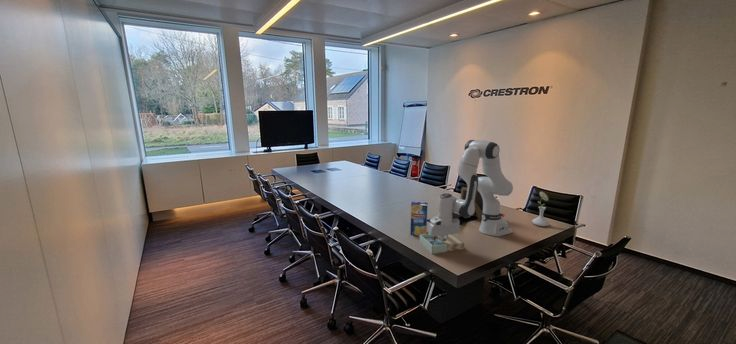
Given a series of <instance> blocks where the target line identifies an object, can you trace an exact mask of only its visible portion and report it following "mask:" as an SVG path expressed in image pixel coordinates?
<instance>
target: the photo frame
mask: <svg viewBox="0 0 736 344" xmlns="http://www.w3.org/2000/svg"><path fill="white" fill-rule="evenodd" d="M467 188H468V186H461V191H460V197H459V198H460V199H463V200H466V195H467ZM482 211H483V199H482V196H481V194H480V193H479V191H478V190H477V195H476V201H475V213H474V214H473V215H472V216H476V217H475V218H477V221H480V222H481V221H482Z"/></svg>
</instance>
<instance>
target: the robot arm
mask: <svg viewBox="0 0 736 344" xmlns="http://www.w3.org/2000/svg"><path fill="white" fill-rule="evenodd" d="M463 149H464V151H463V153H462V155H461V158H460V159H459V163H458V166H457V173H458V176H459V177H460V178H461V179H462V180H463V181H464V182H465V183H466V187H468V188H467V195H466V200H463V199H460V198H461V197H456V196H454V195H452V194H451V193H446V192H445V193H442V194H440V195H439V197H438V202H437V209H438V212H437V215H435V216H434V217H432V218H430V219H429V225H428V228H427V229H428V230H427V231H428V233H427V234H429V235H430V236H439V235H440V237H441V241H447V237H448V235H449V234H453V235H454V234H455V235H456V234H459V233H460V232H461V230H460V229H461V228H460V226H461V225H460V222H461V221H460V219H458V218H453V214H456V215H458V216H459V215H460V216H459V217H463V218H464V219H469V218H470V217H471V216H472V215H473V214H474V213H475V201H476V195H477V190H478V191H479V193H480V194H481V196H482V199H483V211H482V221H480V226H479V228H478V230H479V231H478V232H480V233H482V234H484V235H488V236H494V237H502V236H506V235H509V234H512V233H513V230H512V229H510V226H509V223H508V222H507V221H506V220H505V219H503V218H504V217H505V214H504V213H501V211H500V210H501V203H500V200H499V199H497V197H495V195H497V196H504V197H506V196H508V197H509V196H510V195H511V194H512V192H513V191H514V190H513V189H514V185H513V183H512V182H511V181H510V180H508V179H507V178H506V177H505V175H504V174H503V171H502V168H501V161H500V158H501V157H500V146H499V145H498V143H496V142H493V141H489V140H480V139H479V140H476V139H470V140H468V141H467V142H466V143H465V145H464V148H463ZM480 159H481V165H482V172H483V174H484V175H485V176H478V174H477V171H478V168H479V167H478V166H479V163H480ZM443 235H445V237H444V238H443Z"/></svg>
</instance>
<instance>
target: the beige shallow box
mask: <svg viewBox="0 0 736 344" xmlns="http://www.w3.org/2000/svg"><path fill="white" fill-rule="evenodd" d="M444 237H445V235H443V238H444ZM435 239H439V240H441V237H440V235H439V236H434V240H435ZM442 242H443V244H447V252H450V251H451V252H452V251H458V250H459V251H460V250H464V249H465V242H464V241H462V240H461V239H460V238H458V237H457V236H456V235H454V234H449V235H448V237H447V241H442Z"/></svg>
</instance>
